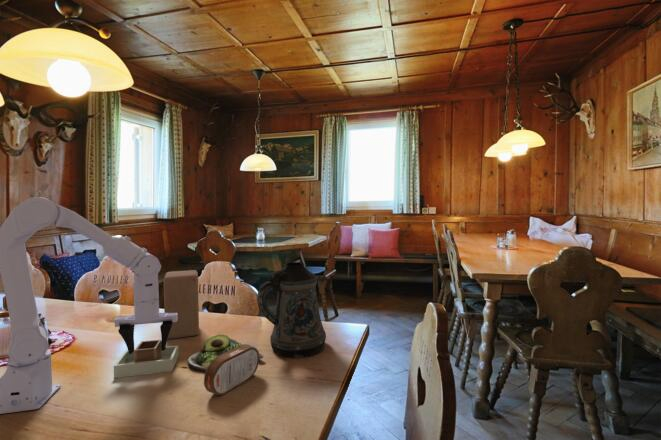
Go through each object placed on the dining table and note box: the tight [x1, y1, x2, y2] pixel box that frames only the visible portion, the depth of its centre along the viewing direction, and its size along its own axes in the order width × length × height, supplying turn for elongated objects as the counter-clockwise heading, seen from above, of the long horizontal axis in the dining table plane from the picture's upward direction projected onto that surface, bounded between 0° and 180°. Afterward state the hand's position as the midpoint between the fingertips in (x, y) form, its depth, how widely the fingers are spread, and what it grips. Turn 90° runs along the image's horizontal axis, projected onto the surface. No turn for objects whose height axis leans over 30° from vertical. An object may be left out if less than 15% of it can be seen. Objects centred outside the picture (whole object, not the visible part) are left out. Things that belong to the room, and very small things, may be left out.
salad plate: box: [187, 334, 264, 372], centre depth 95 cm, size 19×18×5 cm
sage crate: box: [113, 345, 179, 379], centre depth 91 cm, size 9×13×3 cm
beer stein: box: [256, 262, 327, 360], centre depth 101 cm, size 16×19×25 cm
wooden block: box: [163, 269, 200, 340], centre depth 114 cm, size 10×10×20 cm
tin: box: [203, 343, 260, 396], centre depth 81 cm, size 15×3×8 cm, turn 149°
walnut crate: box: [134, 339, 162, 363], centre depth 91 cm, size 6×5×5 cm
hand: (147, 350), depth 91 cm, fingers open, 7 cm apart
